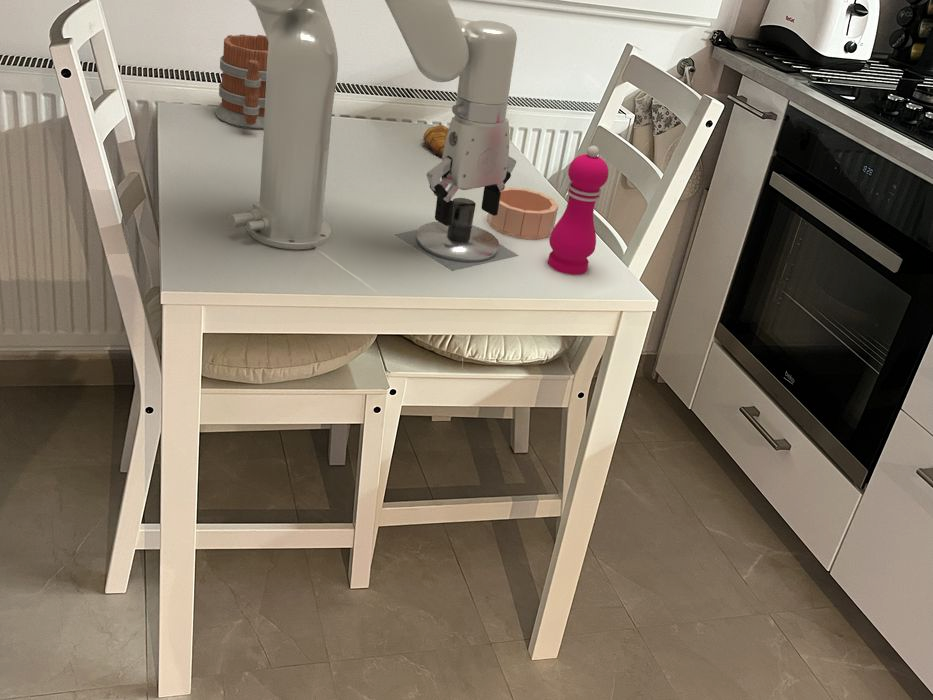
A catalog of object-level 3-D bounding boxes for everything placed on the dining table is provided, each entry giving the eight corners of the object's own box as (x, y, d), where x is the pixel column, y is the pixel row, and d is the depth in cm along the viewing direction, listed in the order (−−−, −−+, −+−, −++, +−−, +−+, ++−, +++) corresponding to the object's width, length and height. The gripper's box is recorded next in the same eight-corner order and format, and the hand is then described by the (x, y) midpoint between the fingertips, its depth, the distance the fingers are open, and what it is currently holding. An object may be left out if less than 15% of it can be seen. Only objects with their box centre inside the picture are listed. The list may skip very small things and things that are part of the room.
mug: (288, 111, 205) (293, 37, 198) (287, 142, 189) (293, 62, 181) (218, 104, 202) (220, 28, 195) (211, 134, 186) (213, 53, 179)
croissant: (462, 162, 195) (466, 137, 193) (428, 159, 194) (431, 134, 191) (447, 139, 207) (451, 115, 204) (415, 136, 205) (418, 112, 202)
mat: (451, 272, 149) (452, 270, 149) (394, 236, 158) (395, 234, 158) (518, 257, 158) (518, 255, 158) (460, 224, 167) (461, 221, 166)
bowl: (518, 245, 162) (524, 217, 160) (474, 220, 169) (479, 192, 167) (564, 235, 169) (570, 208, 167) (520, 211, 176) (525, 184, 174)
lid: (452, 268, 150) (460, 224, 146) (399, 235, 158) (405, 192, 154) (514, 254, 158) (522, 212, 154) (461, 223, 166) (467, 182, 162)
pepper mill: (561, 254, 162) (587, 135, 152) (598, 271, 158) (627, 150, 149) (535, 264, 157) (560, 141, 147) (572, 282, 153) (601, 157, 144)
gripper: (453, 123, 140) (439, 236, 148) (539, 111, 150) (522, 217, 159) (419, 107, 144) (408, 217, 153) (505, 97, 155) (490, 200, 163)
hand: (466, 217), depth 156 cm, fingers open, 9 cm apart
